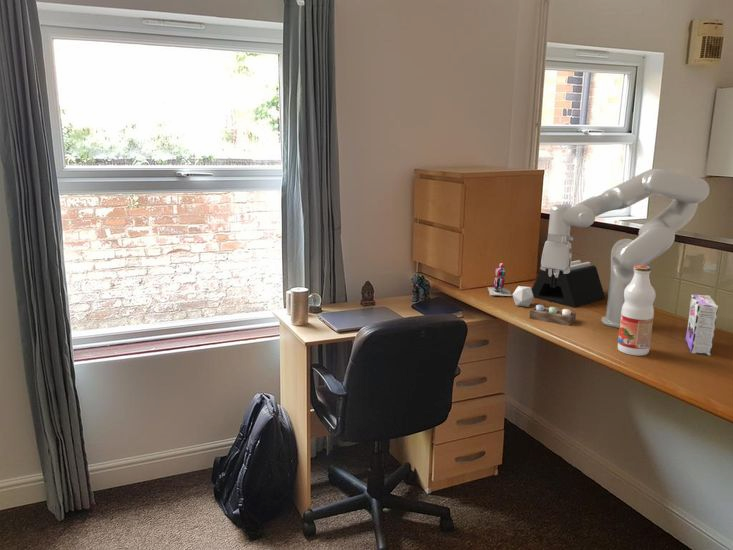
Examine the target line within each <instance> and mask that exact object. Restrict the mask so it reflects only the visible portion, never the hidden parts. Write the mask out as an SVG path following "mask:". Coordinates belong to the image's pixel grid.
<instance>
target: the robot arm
mask: <svg viewBox="0 0 733 550" xmlns="http://www.w3.org/2000/svg"><path fill="white" fill-rule="evenodd" d="M709 194H710V185H709V184H708V182H707V181H706V180H704V178H700V177H695V176H690V175H686V174H682V173H677V172H673V171H669V170H666V169H662V168H661V169H660V168H650V169H648V170H646V171H643V172H642V173H640V174H637V175H635V176H634V177H632V178H629V179H628V180H626V181H624V182H621V183H619V184H617V185H615V186H613V187H611V188H609V189H606V190H605V191H602V192H599V193H597V194H595V195H593V196H591V197H589V198H586V199H585V200H582V201H581V202H579V203H577V204H575V205H574V206H570V205H567V204H553V205H552V206H551V208H550V211H549V212H550V213H549V221H548V232H547V240H545V242H544V245H543V249H542V253H541V260H540V267H539V269H540V271H541V270H544V271H546V272H547V274H548V275H549V277H550V278H549V284H550V287H553V288H555V287H556V286H557V285H558V280H559V276H560V275H562V274H568V273H570V267H571V262H572V243H571V242H573V240H574V237H573V236H571V234H570V233H571V226H572V227H578V228H588V227H590V226H591V225H593V224H594V222H595V221H596V218H597V217H598V216H601V215H603V214H605V213H608V212H610V211H617V210H623V209H627V208H629V207H631V206H633V205H635V204H637V203H640V202H641V201H642V200H645V199H647V198H649V197H651V196H653V195H657V196H660V197H663V198H666V199H667V198H668V199H672V201H671V202H670V203H669V205H668V206H667V207H665V208H664V209H663V210H661V212H659V213H658V214H656V215H655V216H654V217H652V218H651V219H650V220H648V221H646V222H645V223H643V224H642V225H641V227H640V228H639V230H638V236H637V237H636V238H634V239H630V238H623V239H619V240H617V241H616V242H615V243H614V244H613V246H612V247H611V251H610V275H609V284H608V292H607V303H606V313H605V316H602V317H601V318H600V319H601V320H600V322H601V324H603V325H606V326H609V327H612V328H617V329H619V328H620V319H621V310H622V305H623V304H624V301H625V300H624V290H625V288H626V287H627V286H628V285H629V284H630V282H631V281H632V279H633V276H634V266H635V265H645V266H648V265H649V264H650V263H651V262H652V261H654V260H655V259H657V258H658V257H659V256H661V255H662V254H663V253H666V251H667V250H669V249H670V247H671V246H673V243H674V242H675V239H676V235H675V234H676V232H678V231H679V230H680V229H682V228H683V227H684V226H686V225H687V224H688V223H689V222H690V221H691V220H692V219H693V217H694V216H695V214H696V212H697V209H698V205H699V203H702V202H703V201H704V200H706V199H707V198H708V197H709ZM554 269H557V270H556V273H555V276H554Z"/></svg>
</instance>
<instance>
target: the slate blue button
mask: <svg viewBox="0 0 733 550" xmlns="http://www.w3.org/2000/svg"><path fill="white" fill-rule="evenodd" d="M535 307H536V310H537V311H544V307H545V305H543V304H536V305H535Z"/></svg>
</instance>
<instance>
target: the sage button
mask: <svg viewBox="0 0 733 550" xmlns="http://www.w3.org/2000/svg"><path fill="white" fill-rule="evenodd" d="M548 308H549V313H555V314H557V309H558V307H557V306H550V307H548Z"/></svg>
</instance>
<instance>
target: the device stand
mask: <svg viewBox="0 0 733 550" xmlns="http://www.w3.org/2000/svg"><path fill="white" fill-rule="evenodd" d="M556 270H557V269H554V276H555V273H556ZM549 278H550V277H549V275H548V274H547V272H546V271H544V270H541V269H540V271H539V274H538V275H537V277H536V280H535V282H534V284H533V286H532V287H531V290H532V293H533V296H534V299H538V300H543V301H547V302H550V303H553V302H554V303H553V304H558V305H563V306H566V307H569V308H573V309H574V308H577V307H578V308H579V307H582V306H585V305H588V304H591V303H595V302H598V301H601V300H605V298H606V296H605V292H604V288H603V286H602V282H601V279H600V276H599V272H598V269H597V267H596V265H593V264H592V265H591V261H585V262H582V260H580V259H578V260H573V261H571V267H570V273H568V274H562V275H560V276H559V280H558V285H557V286H556V287H555V288H553V287H550V284H549Z"/></svg>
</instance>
